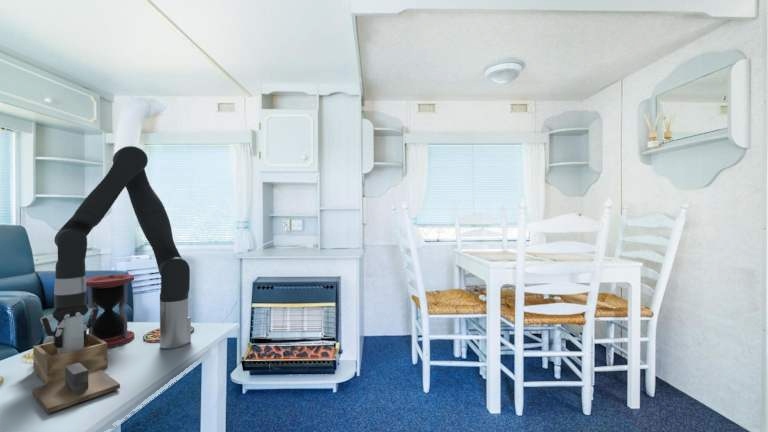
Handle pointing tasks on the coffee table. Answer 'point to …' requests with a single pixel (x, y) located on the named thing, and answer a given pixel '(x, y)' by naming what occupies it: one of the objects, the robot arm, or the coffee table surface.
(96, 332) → the hourglass
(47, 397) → the lid
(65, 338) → the skincare box
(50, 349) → the open wooden box
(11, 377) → the coffee table surface
